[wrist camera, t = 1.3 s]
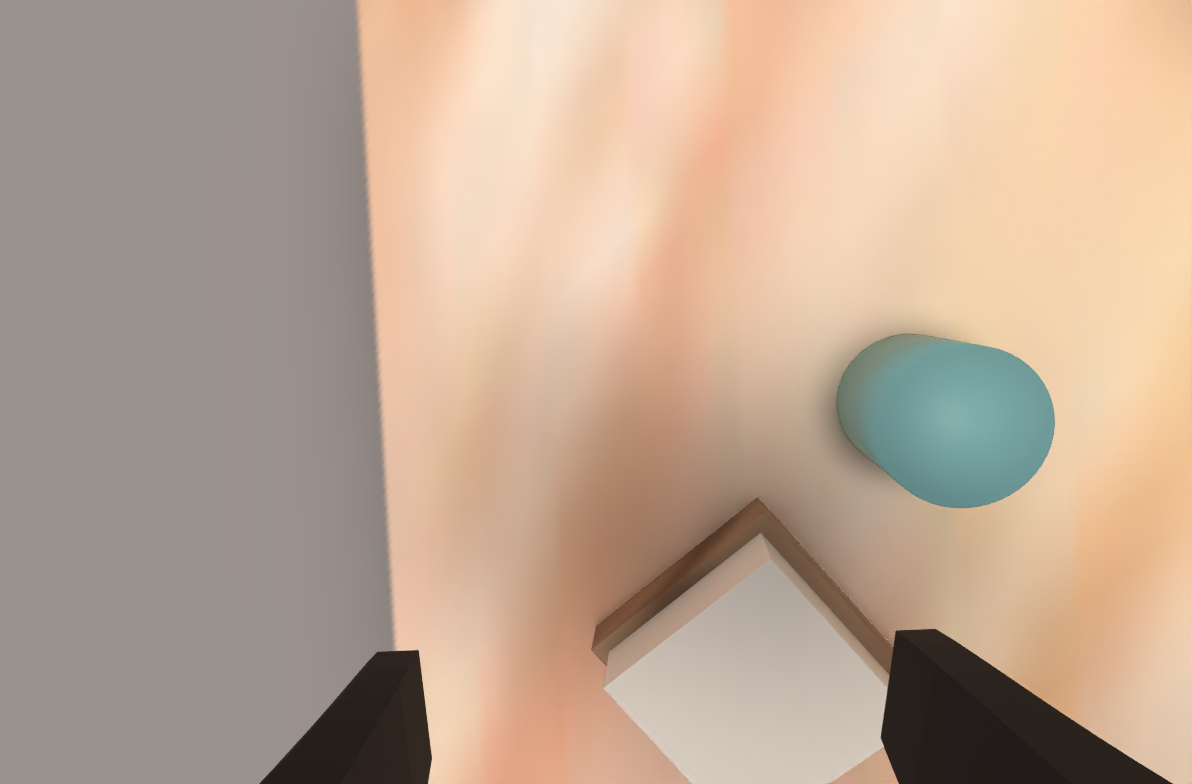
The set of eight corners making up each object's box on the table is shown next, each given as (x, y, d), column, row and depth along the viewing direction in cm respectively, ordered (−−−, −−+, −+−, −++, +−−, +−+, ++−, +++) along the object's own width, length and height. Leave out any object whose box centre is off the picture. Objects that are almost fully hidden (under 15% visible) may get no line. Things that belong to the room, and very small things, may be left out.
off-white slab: (760, 532, 22) (770, 558, 20) (894, 681, 22) (918, 722, 20) (609, 651, 23) (603, 688, 21) (737, 790, 24) (744, 840, 21)
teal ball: (965, 321, 22) (1043, 329, 17) (984, 451, 22) (1064, 492, 18) (826, 349, 22) (865, 364, 18) (848, 475, 23) (891, 520, 18)
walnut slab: (755, 492, 24) (764, 512, 22) (895, 648, 24) (918, 683, 22) (597, 619, 25) (591, 649, 23) (731, 764, 26) (737, 807, 24)
